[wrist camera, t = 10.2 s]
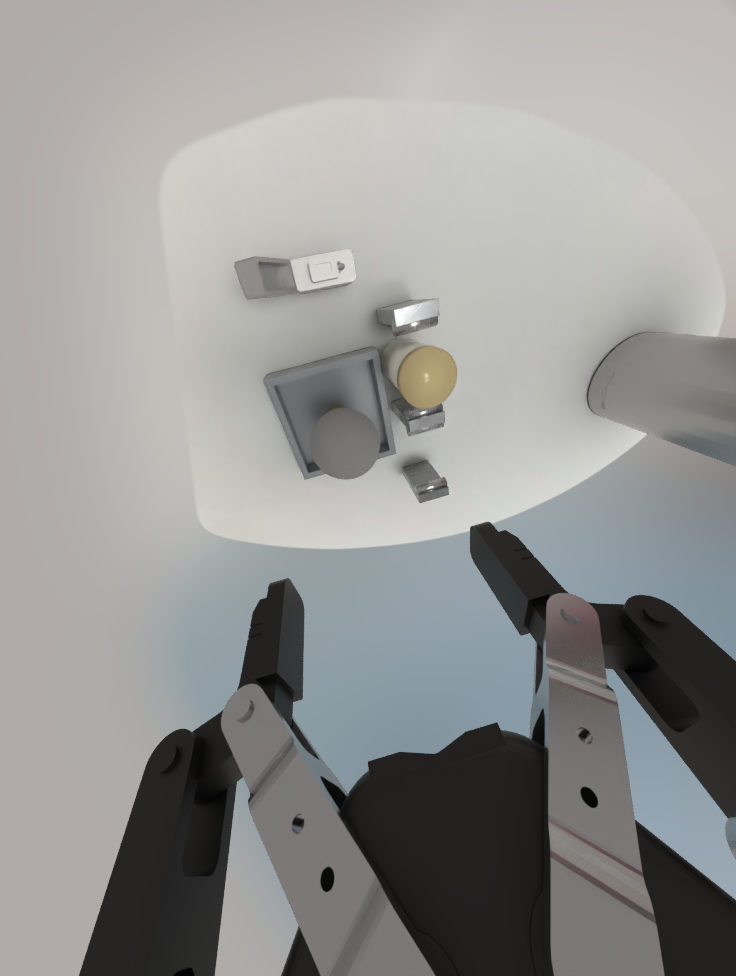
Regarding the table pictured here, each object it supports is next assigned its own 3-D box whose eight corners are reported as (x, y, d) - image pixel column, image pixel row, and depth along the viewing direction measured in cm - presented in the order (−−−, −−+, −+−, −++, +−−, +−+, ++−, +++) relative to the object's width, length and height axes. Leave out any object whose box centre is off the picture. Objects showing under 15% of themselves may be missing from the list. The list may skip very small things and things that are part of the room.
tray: (372, 346, 25) (378, 349, 23) (390, 444, 31) (396, 453, 29) (266, 374, 25) (263, 380, 23) (305, 468, 31) (304, 479, 29)
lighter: (344, 257, 22) (360, 236, 15) (348, 284, 23) (365, 275, 16) (254, 274, 21) (230, 260, 15) (263, 301, 22) (244, 299, 16)
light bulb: (302, 429, 28) (299, 481, 20) (320, 377, 25) (326, 410, 17) (351, 447, 30) (368, 500, 22) (373, 399, 27) (400, 439, 19)
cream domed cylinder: (417, 329, 25) (453, 338, 19) (425, 375, 28) (459, 397, 21) (374, 345, 25) (394, 359, 19) (386, 389, 28) (407, 416, 21)
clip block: (411, 300, 24) (438, 298, 19) (428, 467, 34) (448, 494, 29) (376, 309, 24) (394, 310, 19) (403, 474, 34) (419, 503, 29)
